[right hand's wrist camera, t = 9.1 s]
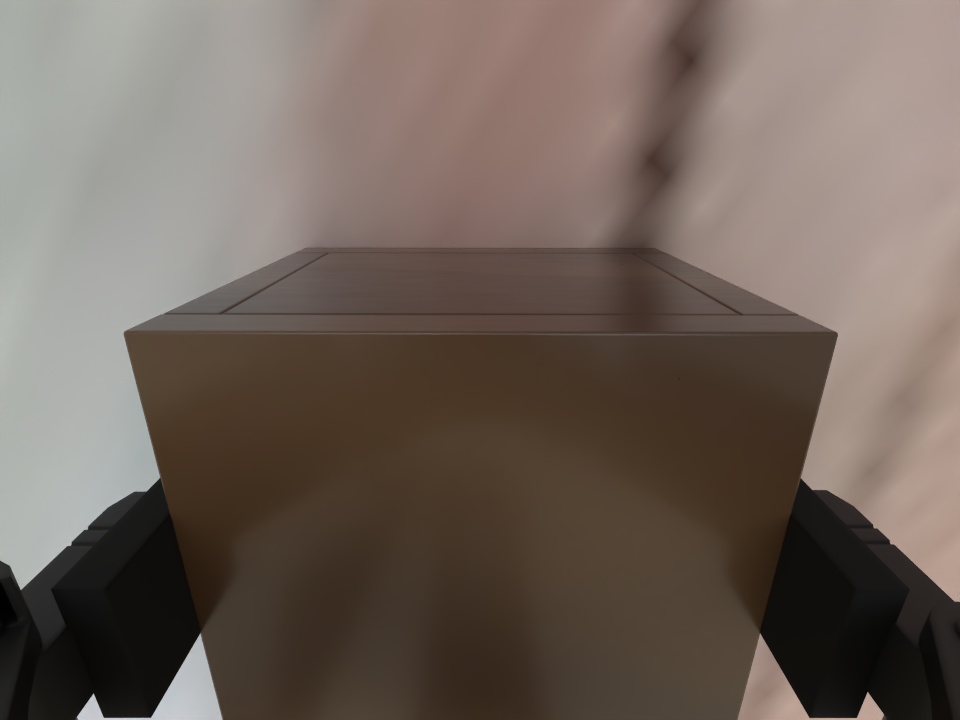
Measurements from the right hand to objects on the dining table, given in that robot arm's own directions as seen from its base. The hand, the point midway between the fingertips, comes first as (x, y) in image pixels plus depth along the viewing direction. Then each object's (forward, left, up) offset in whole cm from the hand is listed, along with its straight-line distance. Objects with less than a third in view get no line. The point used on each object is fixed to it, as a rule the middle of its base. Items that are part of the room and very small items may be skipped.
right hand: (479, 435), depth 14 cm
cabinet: (+3, +2, -3) cm, 5 cm away
